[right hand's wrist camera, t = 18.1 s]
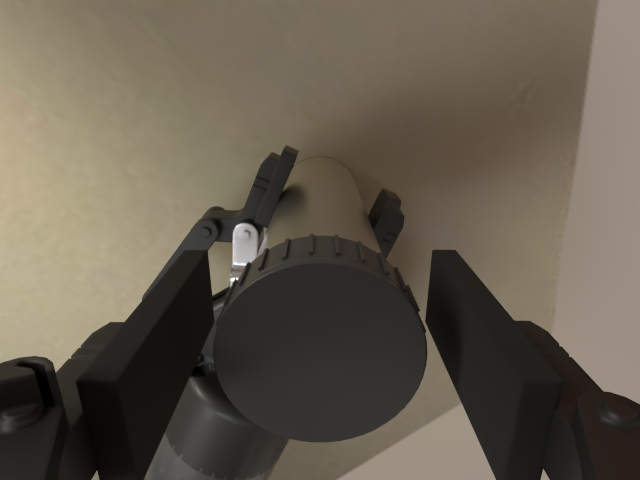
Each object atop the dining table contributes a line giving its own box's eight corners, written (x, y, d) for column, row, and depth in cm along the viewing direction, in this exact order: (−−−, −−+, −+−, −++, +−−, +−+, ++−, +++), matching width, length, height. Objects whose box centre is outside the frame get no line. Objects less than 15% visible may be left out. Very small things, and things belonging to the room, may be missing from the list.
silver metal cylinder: (284, 228, 27) (238, 412, 12) (281, 156, 26) (224, 261, 10) (355, 228, 27) (402, 412, 12) (357, 156, 26) (414, 261, 10)
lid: (385, 205, 11) (397, 228, 9) (433, 370, 13) (451, 415, 11) (194, 266, 11) (172, 298, 10) (266, 415, 13) (258, 465, 12)
